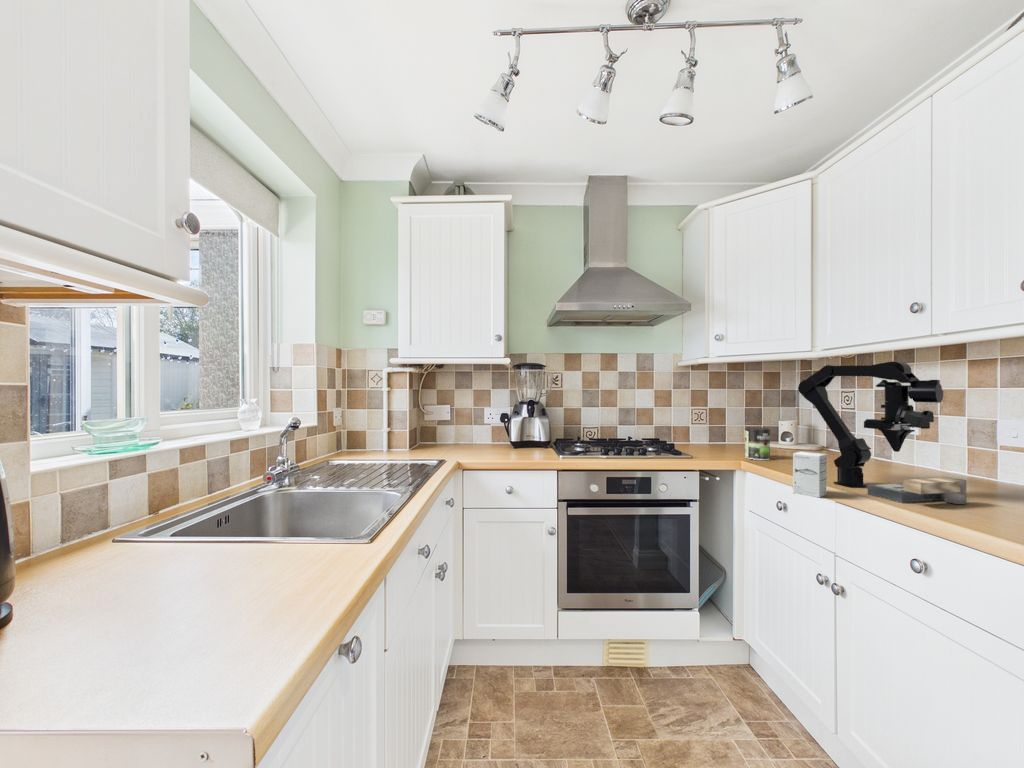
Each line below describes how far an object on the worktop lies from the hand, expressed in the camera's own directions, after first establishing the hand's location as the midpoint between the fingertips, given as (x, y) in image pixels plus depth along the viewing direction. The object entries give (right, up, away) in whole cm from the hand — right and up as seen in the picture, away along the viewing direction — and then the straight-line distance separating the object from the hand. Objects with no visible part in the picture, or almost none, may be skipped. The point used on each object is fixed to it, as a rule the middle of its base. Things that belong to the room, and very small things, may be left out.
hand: (896, 451), depth 139 cm
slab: (0, -13, -5) cm, 14 cm away
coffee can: (-7, -14, +66) cm, 68 cm away
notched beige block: (0, -13, -13) cm, 18 cm away
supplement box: (-28, -13, -2) cm, 31 cm away
